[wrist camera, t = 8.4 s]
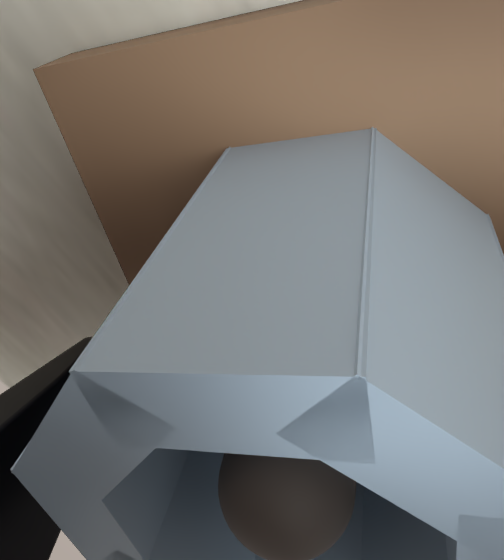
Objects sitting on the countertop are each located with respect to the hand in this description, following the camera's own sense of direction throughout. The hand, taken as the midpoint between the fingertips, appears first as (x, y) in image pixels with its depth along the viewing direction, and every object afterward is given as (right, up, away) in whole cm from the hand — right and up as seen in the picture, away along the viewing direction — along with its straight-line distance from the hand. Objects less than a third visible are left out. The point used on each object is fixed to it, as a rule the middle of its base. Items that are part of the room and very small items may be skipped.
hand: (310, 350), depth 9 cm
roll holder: (+1, +2, +3) cm, 4 cm away
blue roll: (0, +1, +2) cm, 2 cm away
